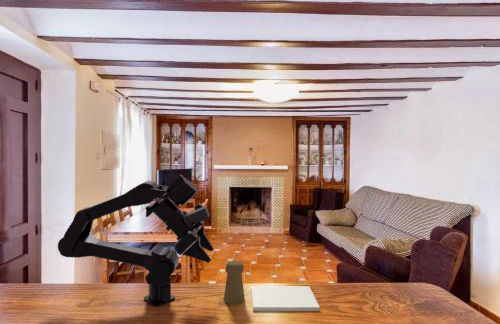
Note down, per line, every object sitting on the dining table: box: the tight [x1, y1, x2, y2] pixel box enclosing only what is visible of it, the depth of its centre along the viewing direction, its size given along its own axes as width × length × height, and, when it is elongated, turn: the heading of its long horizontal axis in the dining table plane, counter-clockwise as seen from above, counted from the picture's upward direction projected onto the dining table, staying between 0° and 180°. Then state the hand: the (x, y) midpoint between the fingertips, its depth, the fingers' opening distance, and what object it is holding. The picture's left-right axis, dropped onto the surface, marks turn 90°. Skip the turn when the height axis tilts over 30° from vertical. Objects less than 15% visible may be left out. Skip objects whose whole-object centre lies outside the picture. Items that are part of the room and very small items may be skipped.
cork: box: [223, 260, 246, 306], centre depth 95 cm, size 6×6×11 cm
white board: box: [250, 285, 321, 312], centre depth 96 cm, size 18×13×1 cm
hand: (211, 255), depth 95 cm, fingers open, 9 cm apart
